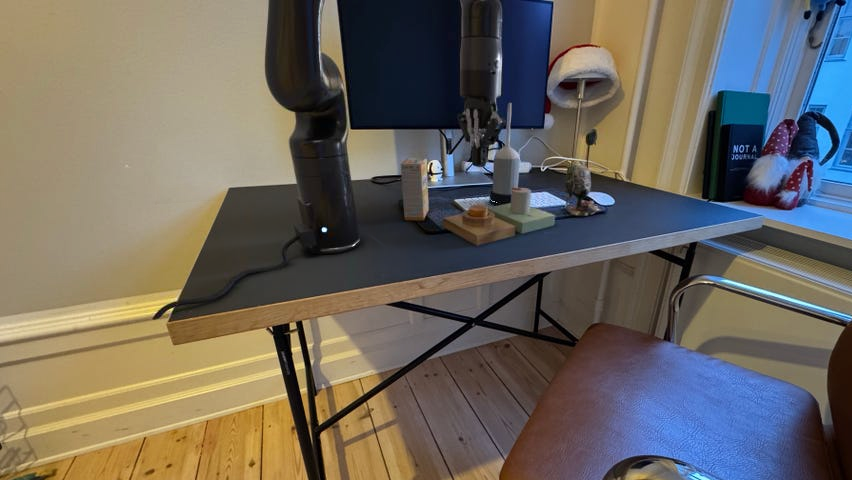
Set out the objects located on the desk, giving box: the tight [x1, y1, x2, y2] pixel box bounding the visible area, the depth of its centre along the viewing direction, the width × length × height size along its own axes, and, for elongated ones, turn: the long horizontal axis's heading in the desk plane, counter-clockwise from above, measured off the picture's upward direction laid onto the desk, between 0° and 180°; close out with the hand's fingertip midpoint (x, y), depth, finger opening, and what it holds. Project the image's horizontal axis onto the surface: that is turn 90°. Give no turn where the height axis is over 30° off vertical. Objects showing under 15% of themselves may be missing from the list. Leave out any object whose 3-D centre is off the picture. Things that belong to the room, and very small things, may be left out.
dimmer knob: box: [511, 187, 532, 214], centre depth 84 cm, size 4×4×5 cm
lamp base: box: [442, 209, 516, 246], centre depth 79 cm, size 10×13×4 cm
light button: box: [468, 204, 489, 217], centre depth 78 cm, size 4×4×2 cm
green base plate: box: [487, 203, 556, 235], centre depth 86 cm, size 10×13×3 cm
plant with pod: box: [564, 128, 602, 217], centre depth 90 cm, size 8×11×20 cm
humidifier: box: [489, 102, 521, 207], centre depth 95 cm, size 8×8×25 cm
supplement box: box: [400, 157, 430, 221], centre depth 86 cm, size 8×5×13 cm, turn 179°
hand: (479, 166), depth 74 cm, fingers closed
